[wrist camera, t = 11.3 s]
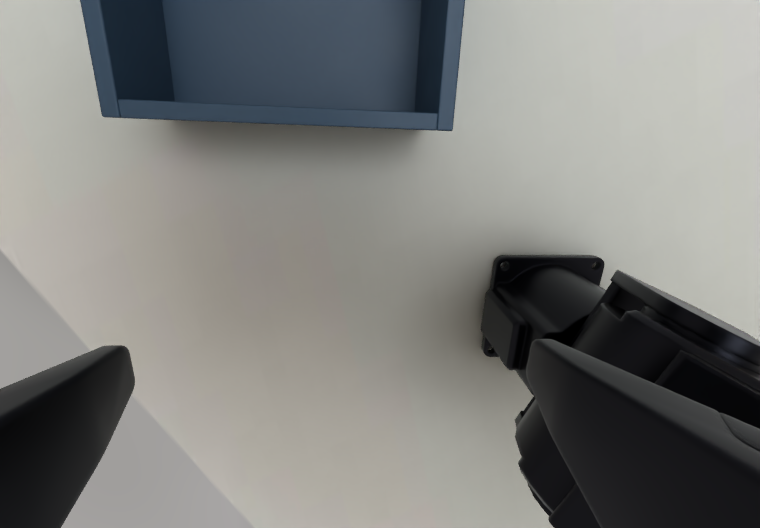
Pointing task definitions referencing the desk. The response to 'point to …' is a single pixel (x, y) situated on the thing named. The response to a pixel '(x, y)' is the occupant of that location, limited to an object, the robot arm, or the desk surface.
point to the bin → (278, 61)
